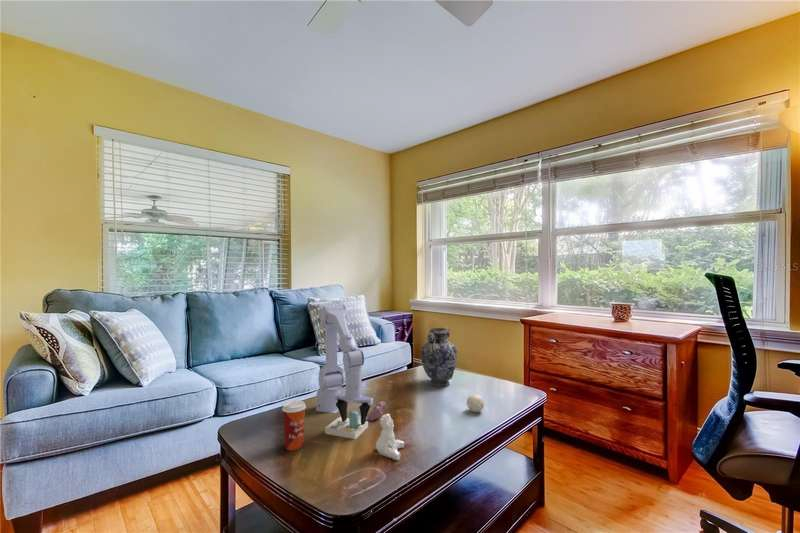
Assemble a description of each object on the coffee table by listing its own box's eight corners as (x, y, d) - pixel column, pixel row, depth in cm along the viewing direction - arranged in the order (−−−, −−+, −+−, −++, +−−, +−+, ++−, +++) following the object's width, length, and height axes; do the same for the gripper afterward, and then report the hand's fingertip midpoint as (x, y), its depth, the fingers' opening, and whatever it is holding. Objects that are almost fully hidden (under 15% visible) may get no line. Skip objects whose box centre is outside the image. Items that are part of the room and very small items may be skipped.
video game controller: (375, 426, 134) (383, 410, 133) (365, 420, 135) (373, 404, 134) (382, 415, 144) (389, 401, 143) (372, 410, 144) (380, 395, 144)
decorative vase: (447, 392, 165) (445, 333, 166) (413, 386, 175) (412, 330, 176) (464, 381, 183) (463, 327, 184) (433, 376, 193) (432, 325, 194)
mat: (344, 422, 134) (344, 421, 134) (353, 415, 140) (353, 414, 140) (360, 425, 131) (360, 424, 131) (368, 418, 138) (368, 417, 138)
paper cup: (293, 454, 111) (292, 410, 111) (277, 448, 115) (276, 405, 115) (311, 444, 117) (311, 402, 117) (295, 438, 121) (295, 397, 122)
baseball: (471, 416, 139) (471, 399, 139) (464, 409, 146) (464, 392, 146) (487, 414, 140) (487, 397, 140) (479, 407, 148) (479, 391, 148)
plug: (347, 433, 125) (347, 413, 125) (351, 429, 128) (351, 410, 128) (356, 434, 124) (356, 414, 124) (359, 430, 127) (359, 411, 127)
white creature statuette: (399, 461, 106) (399, 421, 106) (372, 459, 108) (371, 420, 108) (404, 446, 115) (404, 409, 116) (379, 444, 117) (379, 408, 117)
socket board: (325, 434, 124) (325, 426, 124) (339, 423, 133) (339, 416, 133) (355, 440, 120) (355, 432, 120) (368, 427, 129) (367, 420, 129)
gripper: (330, 385, 125) (330, 423, 124) (366, 390, 119) (367, 430, 119) (340, 379, 131) (340, 416, 131) (375, 383, 126) (375, 421, 126)
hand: (353, 422), depth 126 cm, fingers open, 7 cm apart
